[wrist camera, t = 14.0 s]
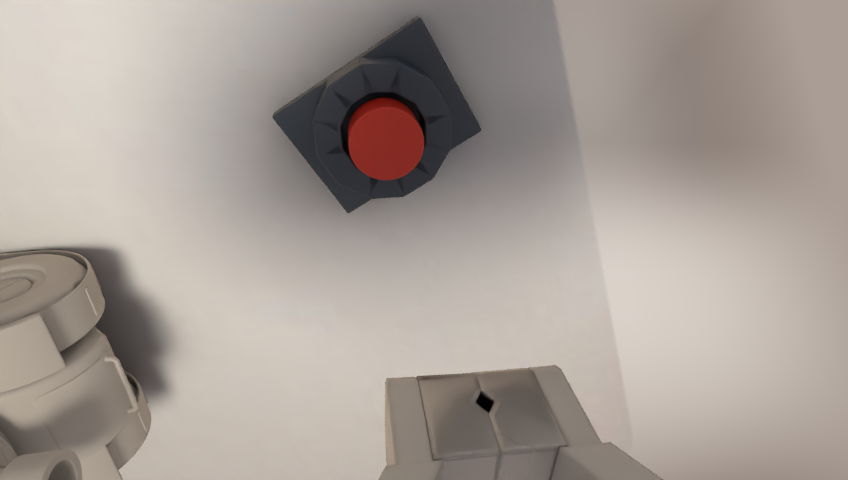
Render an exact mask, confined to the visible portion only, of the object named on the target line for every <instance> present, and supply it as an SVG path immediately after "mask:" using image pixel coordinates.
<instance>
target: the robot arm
mask: <svg viewBox="0 0 848 480" xmlns="http://www.w3.org/2000/svg"><path fill="white" fill-rule="evenodd" d="M385 441H386V461H387V466H386V467H385V469H384V470H383V472H382V474H381V476H380V478H379V479H378V480H663V479H662V478H660V477H659V476H657V475H656V474H655V473H653V472H652V471H650V470H649V469H647V468H646V467H645V466H643V465H642V464H640V463H639V462H638V461H636V460H635V459H633V458H632V457H631V456H629V455H628V454H626V453H625V452H624V451H622V450H621V449H619V448H618V447H616V446H615V445H614V444H612V443H611V442H608V443H602V442H601V441H600V439H599V437H598V435H597V433H596V432H595V430H594V428H593V426H592V424H591V423H590V421H589V419H588V417H587V415H586V413H585V412H584V410H583V408H582V406H581V404H580V403H579V401H578V399H577V397H576V395H575V394H574V392H573V390H572V388H571V386H570V384H569V383H568V381H567V379H566V377H565V375H564V374H563V372H562V370H561V369H560V368H559V367H558V366H556V365H552V366H541V367H530V368H518V369H507V370H496V371H485V372H474V373H465V374H447V375H428V376H417V377H402V378H386V382H385Z"/></svg>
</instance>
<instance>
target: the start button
mask: <svg viewBox="0 0 848 480" xmlns="http://www.w3.org/2000/svg"><path fill="white" fill-rule="evenodd" d="M348 146H349V153H350V156H351V158H352V160H353V162H354V164H355V165H356V166H357V168H358V169H359V170H360V171H361V172H363V173H364V174H366V175H367V176H369V177H372V178H374V179H378V180H394V179H398V178H400V177H403V176H405V175H406V174H408V173H409V172H411V171H412V170H413V169H414V168H415V167H416V165H417V164H418V163H419V161H420V159H421V157H422V154H423V150H424V136H423V132H422V129H421V127H420V125H419V123H418V121H417V119H416V117H415V115H414V114H413V112H412V111H411V110H410V109H409V108H408V107H407V106H406V105H405V104H403V103H402V102H400V101H398V100H395V99H392V98H376V99H372V100H369V101H367V102H365V103H364V104H362V105H361V106H360V107H359V108H358V109H357V110H356V111H355V112H354V114H353V115H352V117H351V119H350V122H349V126H348Z"/></svg>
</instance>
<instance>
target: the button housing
mask: <svg viewBox="0 0 848 480" xmlns="http://www.w3.org/2000/svg"><path fill="white" fill-rule="evenodd" d="M376 98H392V99H395V100H398V101H400V102H402V103H403V104H405V105H406V106H407V107H408V108H409V109H410V110H411V111H412V112H413V114H414V115H415V117H416V119H417V121H418V123H419V125H420V127H421V129H422V132H423V136H424V150H423V154H422V157H421V159H420V161H419V163H418V164H417V165H416V167H415V168H414V169H413V170H412V171H411V172H409V173H408V174H406V175H405V176H403V177H400V178H398V179H394V180H378V179H374V178H372V177H369V176H367V175H366V174H364V173H363V172H361V171H360V170H359V169H358V168H357V166H356V165H355V164H354V162H353V160H352V158H351V156H350V153H349V146H348V126H349V122H350V119H351V117H352V115H353V114H354V112H355V111H356V110H357V109H358V108H359V107H360V106H361V105H362V104H364V103H365V102H367V101H369V100H372V99H376ZM273 119H274V120H275V121H276V122H277V124H278V125H279V126H280V128H281V129H282V130H283V131H284V133H285V134H286V135H287V136H288V138H289V139H290V140H291V142H292V143H293V144H294V145H295V147H296V148H297V149H298V150H299V152H300V153H301V154H302V156H303V157H304V158H305V159H306V161H307V162H308V163H309V164H310V166H311V167H312V168H313V169H314V171H315V172H316V173H317V175H318V176H319V177H320V178H321V180H322V181H323V182H324V183H325V185H326V186H327V187H328V189H329V190H330V191H331V192H332V194H333V195H334V196H335V197H336V199H337V200H338V201H339V203H340V204H341V205H342V206H343V208H344V209H345V210H346V211H347V213H350V212H351V211H353V210H354V209H356V208H358V207H359V206H361V205H362V204H364V203H366V202H367V201H369V200H370V199H377V198H390V197H404V195H407V194H409V193H410V192H412V191H414V190H415V189H417V188H419V187H420V186H422V185H423V184H425V183H427V182H428V181H430V180H432V179H433V177H434V176H435V175H436V173H437V171H438V170H439V168H440V166H441V164H442V163H443V161H444V159H445V158H446V156H447V154H448V152H449V151H450V150H451V149H452V148H454V147H456V146H457V145H459V144H460V143H462V142H464V141H465V140H467V139H468V138H470V137H472V136H473V135H475V134H476V133H478V132H480V131H481V128H480V126H479V124H478V122H477V120H476V119H475V117H474V115H473V113H472V111H471V109H470V108H469V106H468V104H467V102H466V100H465V98H464V96H463V95H462V93H461V91H460V89H459V87H458V85H457V84H456V82H455V80H454V78H453V76H452V74H451V73H450V71H449V69H448V67H447V65H446V63H445V62H444V60H443V58H442V56H441V54H440V52H439V50H438V49H437V47H436V45H435V43H434V41H433V39H432V38H431V36H430V34H429V32H428V30H427V28H426V27H425V25H424V23H423V21H422V19H421V18H420V17H416V18H415V19H413V20H412V21H410V22H409V23H407V24H406V25H404V26H403V27H401V28H400V29H398V30H397V31H395V32H394V33H392V34H391V35H389V36H388V37H386V38H385V39H383V40H382V41H380V42H379V43H377V44H376V45H374V46H373V47H371V48H370V49H368V50H367V51H366V52H364V53H363V54H361V55H360V56H358V57H357V58H355V59H354V60H352V61H351V62H349V63H348V64H346V65H345V66H343V67H342V68H340V69H339V70H337V71H336V72H334V73H333V74H331V75H330V76H328V77H327V78H325V79H324V80H322V81H321V82H319V83H318V84H316V85H315V86H313V87H312V88H311V89H309V90H308V91H306V92H305V93H303V94H302V95H300V96H299V97H297V98H296V99H294V100H293V101H291V102H290V103H288V104H287V105H285V106H284V107H282V108H281V109H279V110H278V111H276V112H275V113H274V115H273Z"/></svg>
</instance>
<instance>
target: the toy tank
mask: <svg viewBox="0 0 848 480" xmlns="http://www.w3.org/2000/svg"><path fill="white" fill-rule="evenodd" d="M101 291H102V289H101V287H100V284H99V282H98V279H97V277H96V274H95V272H94V269H93V267H92V265H90V263H89V261H88V260H87V259H86V258H85V257H84V256H82V255H80V254H78V253H75V252H70V251H64V250H41V251H28V252H16V253H4V254H0V480H123V478H122V476H121V474H120V472H119V469H120V468H121V467H122V466H123V465H125V464H126V463H127V462H128V461H129V460H130V459H131V458H132V457H133V456H134V454H135V453H136V452H137V451H138V450H139V448H140V447H141V445H142V444H143V442H144V441H145V439H146V437H147V435H148V432H149V429H150V425H151V413H150V410H149V407H148V405H147V403H148V402H147V400H146V397H145V395H144V392H143V390H142V387H141V385H140V383H138V381H137V380H136V378H135V377H134V376H133V375H131V374H130V373H128V372H126V371H124V370H123V367H122V365H121V363H120V360H119V359H118V358H117V357H115V355H114V353H113V351H112V348H111V346H110V344H109V341H108V339H107V337H106V336H105V335H104V334H103V333H102V332H101V331H99V330H98V329H97V328H96V327H94V326H95V325H96V324H97V322H98V321H99V319H100V318H101V316H102V314H103V312H104V309H105V300H104V297H103V295H102V292H101Z"/></svg>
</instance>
